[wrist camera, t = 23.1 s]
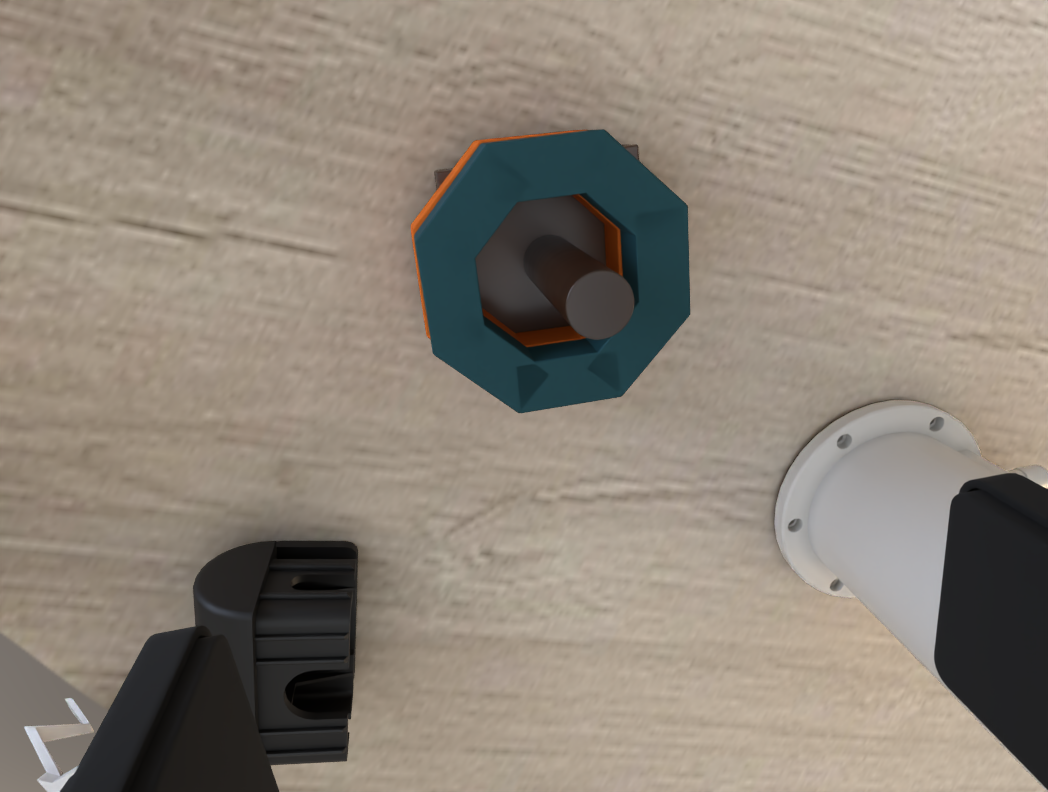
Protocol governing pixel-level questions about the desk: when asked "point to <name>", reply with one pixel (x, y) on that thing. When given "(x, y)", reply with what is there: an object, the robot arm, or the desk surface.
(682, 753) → the desk surface
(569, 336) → the orange ring
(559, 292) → the peg stand
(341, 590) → the end cap
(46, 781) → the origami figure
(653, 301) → the teal ring
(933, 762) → the desk surface
